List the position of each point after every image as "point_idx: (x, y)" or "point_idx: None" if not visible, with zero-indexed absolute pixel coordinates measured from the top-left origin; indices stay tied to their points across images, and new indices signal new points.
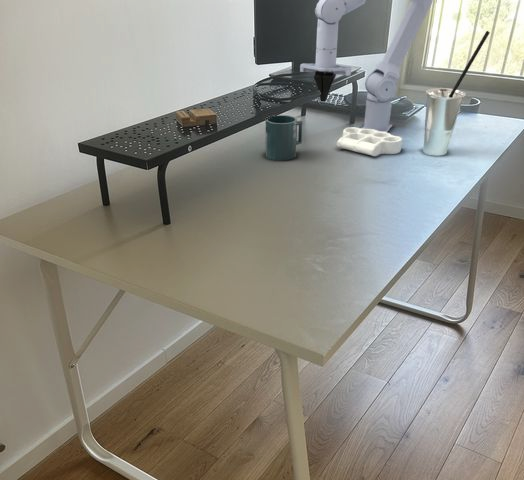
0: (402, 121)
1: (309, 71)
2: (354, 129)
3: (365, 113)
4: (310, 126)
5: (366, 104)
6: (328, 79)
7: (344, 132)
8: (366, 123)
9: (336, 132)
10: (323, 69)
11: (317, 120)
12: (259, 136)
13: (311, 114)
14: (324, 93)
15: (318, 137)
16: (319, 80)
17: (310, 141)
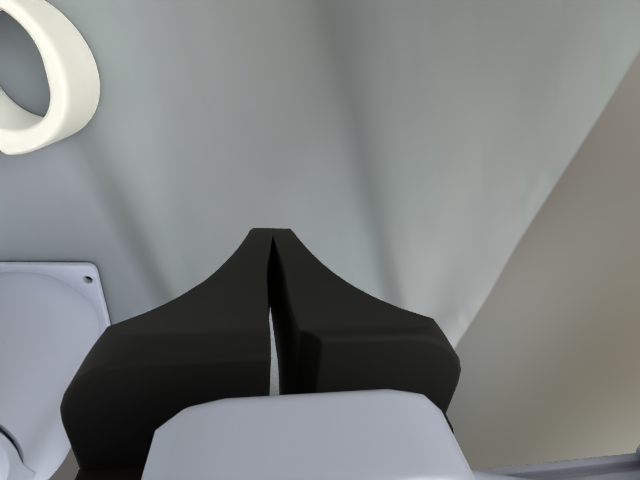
0: None
1: (560, 471)
2: (13, 129)
3: (50, 351)
4: (350, 263)
5: (18, 394)
6: (138, 327)
7: (26, 9)
8: (51, 302)
9: (204, 220)
10: (178, 475)
11: None
12: (586, 14)
13: None
14: (248, 249)
15: (265, 104)
16: (330, 310)
17: (287, 4)
